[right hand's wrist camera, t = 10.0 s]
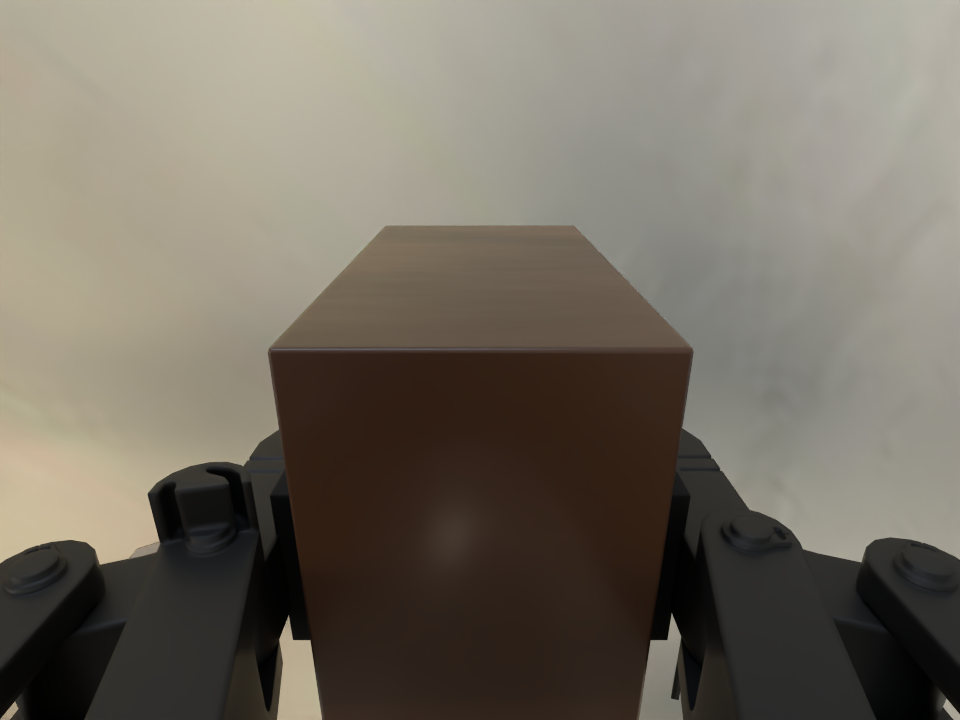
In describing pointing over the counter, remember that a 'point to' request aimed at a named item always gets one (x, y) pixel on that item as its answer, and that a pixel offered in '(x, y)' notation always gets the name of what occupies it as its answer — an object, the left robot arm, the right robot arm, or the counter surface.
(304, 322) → the walnut block
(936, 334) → the counter surface
